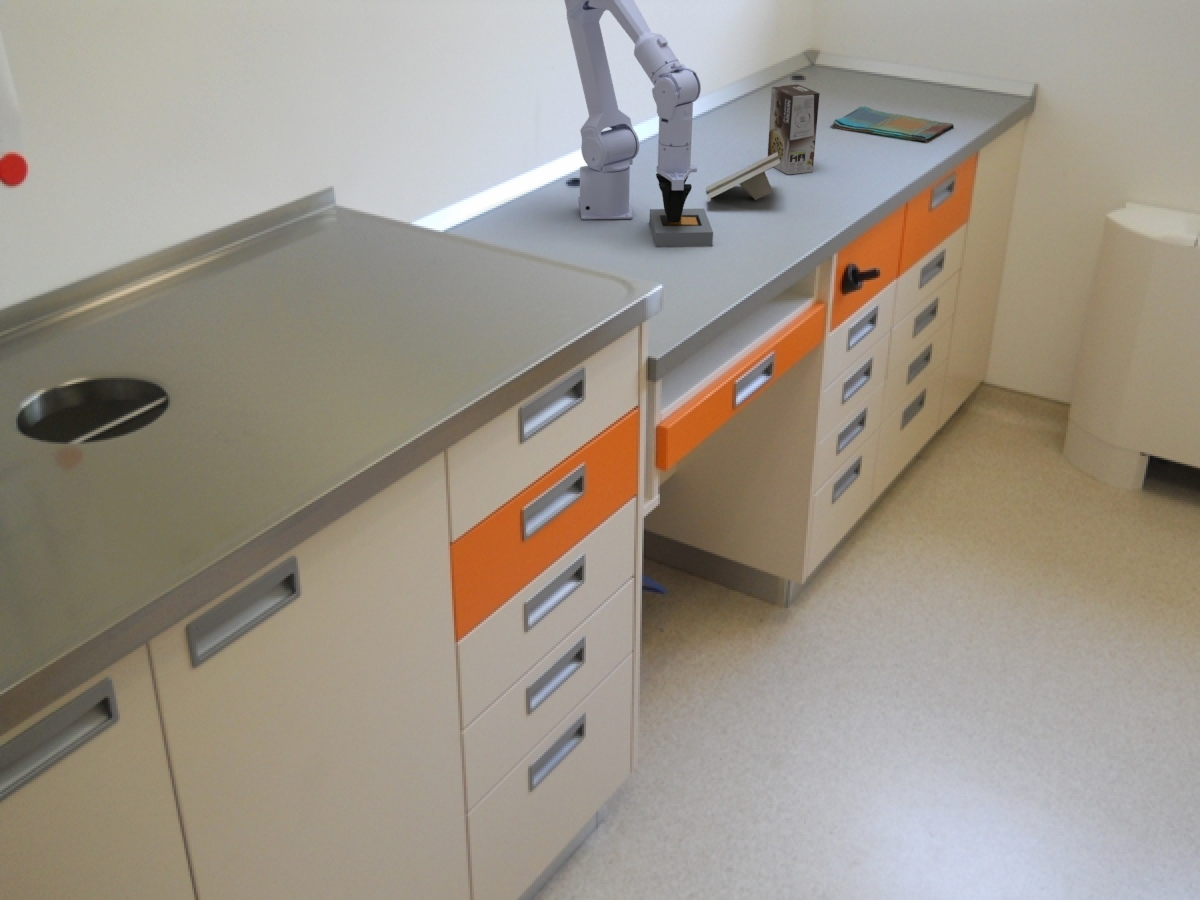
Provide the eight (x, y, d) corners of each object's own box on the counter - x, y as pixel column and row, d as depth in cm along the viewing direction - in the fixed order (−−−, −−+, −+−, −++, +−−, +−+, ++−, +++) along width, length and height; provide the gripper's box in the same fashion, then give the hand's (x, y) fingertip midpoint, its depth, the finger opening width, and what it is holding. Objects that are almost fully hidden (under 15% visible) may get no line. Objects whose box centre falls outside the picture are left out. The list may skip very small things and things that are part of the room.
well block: (655, 246, 223) (655, 232, 221) (649, 222, 234) (649, 209, 233) (712, 245, 223) (713, 232, 222) (703, 221, 234) (704, 208, 233)
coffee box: (814, 172, 262) (821, 93, 254) (786, 175, 260) (792, 95, 252) (792, 160, 269) (798, 83, 262) (765, 163, 267) (770, 85, 260)
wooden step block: (669, 232, 226) (671, 202, 224) (667, 224, 230) (669, 195, 227) (697, 232, 227) (699, 202, 224) (694, 225, 230) (696, 195, 227)
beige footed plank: (735, 235, 240) (798, 183, 236) (706, 199, 238) (769, 146, 234) (733, 220, 256) (793, 171, 251) (706, 186, 254) (765, 137, 250)
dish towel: (860, 114, 305) (861, 104, 304) (954, 130, 294) (955, 119, 292) (829, 130, 293) (830, 119, 292) (925, 146, 281) (927, 135, 280)
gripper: (702, 153, 214) (699, 231, 221) (693, 130, 227) (690, 204, 234) (661, 154, 214) (658, 231, 221) (653, 131, 227) (651, 205, 233)
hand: (672, 217), depth 227 cm, fingers closed on wooden step block, 4 cm apart
